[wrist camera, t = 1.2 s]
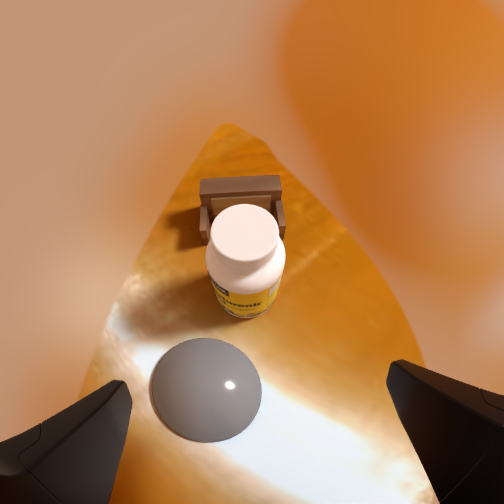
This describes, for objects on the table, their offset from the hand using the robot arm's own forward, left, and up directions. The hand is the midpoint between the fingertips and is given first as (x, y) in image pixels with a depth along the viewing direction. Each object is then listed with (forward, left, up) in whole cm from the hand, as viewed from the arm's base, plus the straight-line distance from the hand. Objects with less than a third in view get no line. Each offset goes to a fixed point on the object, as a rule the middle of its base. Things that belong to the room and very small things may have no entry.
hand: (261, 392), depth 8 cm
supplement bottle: (+7, +6, -14) cm, 17 cm away
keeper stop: (+12, +11, -14) cm, 22 cm away
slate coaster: (-2, +3, -14) cm, 15 cm away
